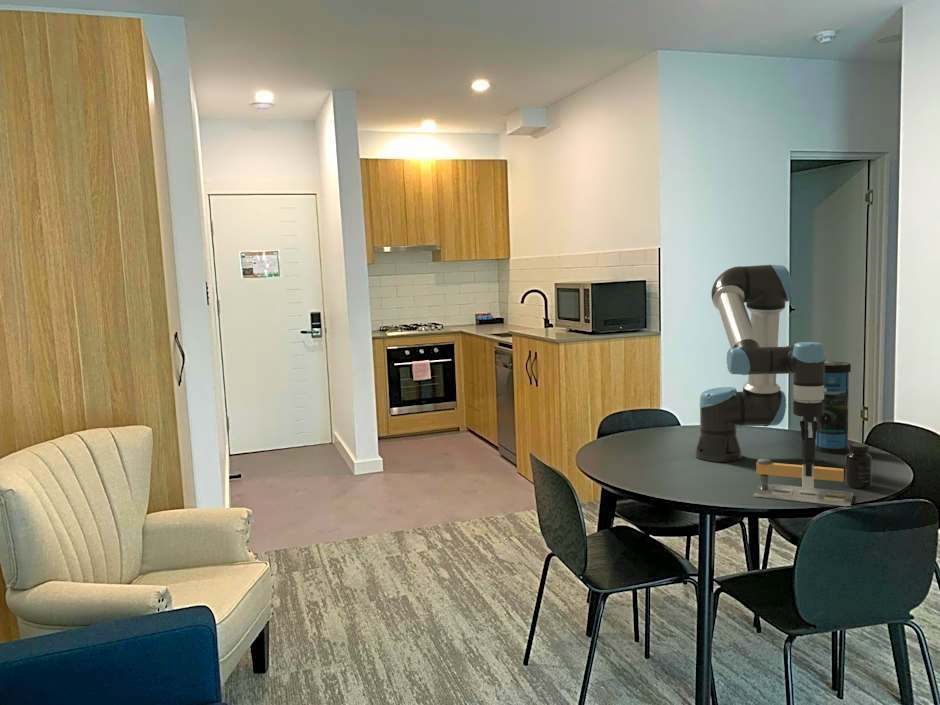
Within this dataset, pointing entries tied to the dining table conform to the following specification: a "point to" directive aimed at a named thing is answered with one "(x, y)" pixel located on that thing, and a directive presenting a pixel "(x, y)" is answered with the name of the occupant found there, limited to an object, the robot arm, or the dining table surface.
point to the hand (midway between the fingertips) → (808, 486)
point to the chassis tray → (802, 493)
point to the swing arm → (797, 470)
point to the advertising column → (834, 409)
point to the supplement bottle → (858, 467)
